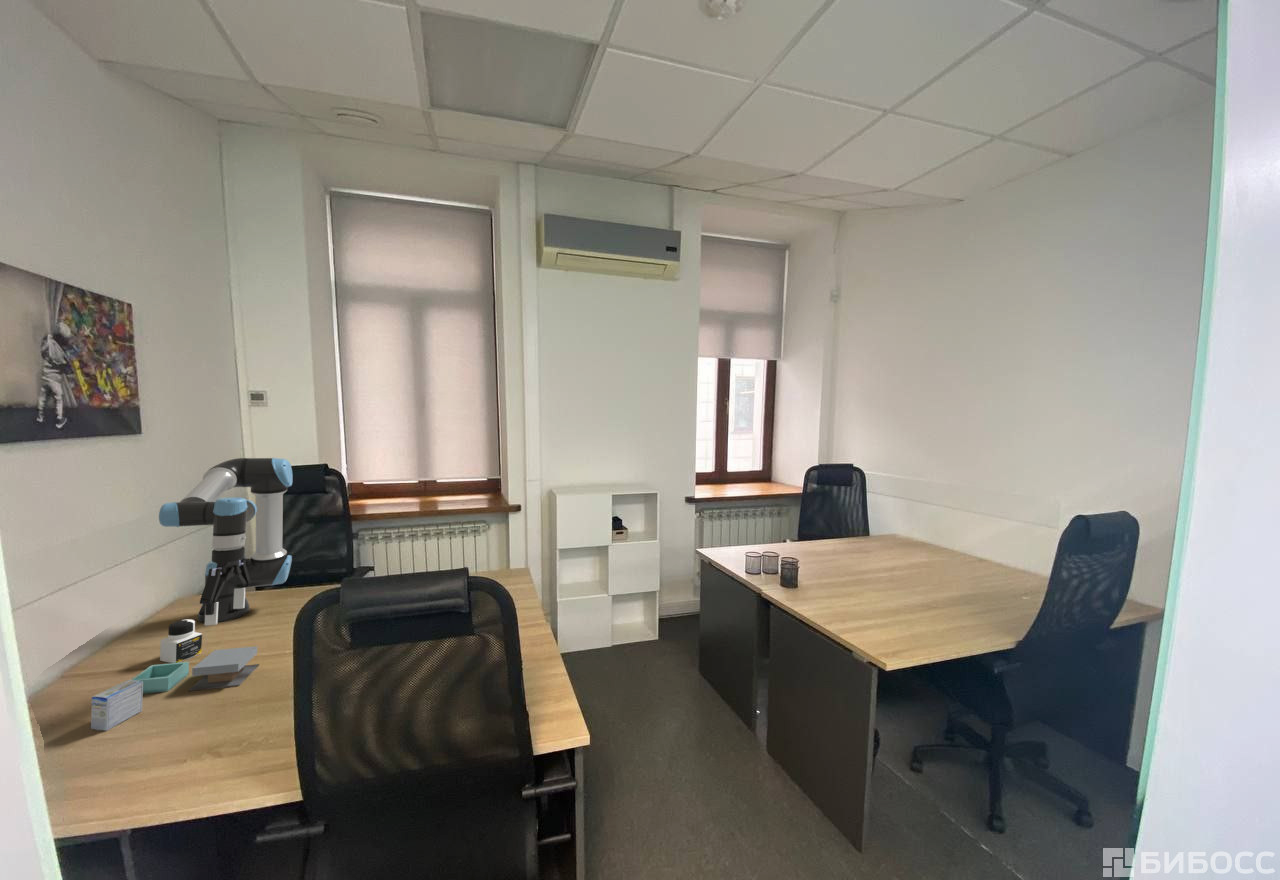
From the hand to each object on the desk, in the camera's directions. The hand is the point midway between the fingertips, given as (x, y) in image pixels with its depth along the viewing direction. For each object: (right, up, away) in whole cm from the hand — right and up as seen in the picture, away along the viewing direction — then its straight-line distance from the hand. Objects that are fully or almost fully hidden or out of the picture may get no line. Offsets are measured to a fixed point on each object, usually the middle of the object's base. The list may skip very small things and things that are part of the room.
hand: (225, 616), depth 137 cm
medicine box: (-9, -19, -21) cm, 30 cm away
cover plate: (0, -15, 0) cm, 15 cm away
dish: (-15, -18, -5) cm, 24 cm away
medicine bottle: (-24, -18, +10) cm, 31 cm away
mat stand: (0, -19, 0) cm, 19 cm away
